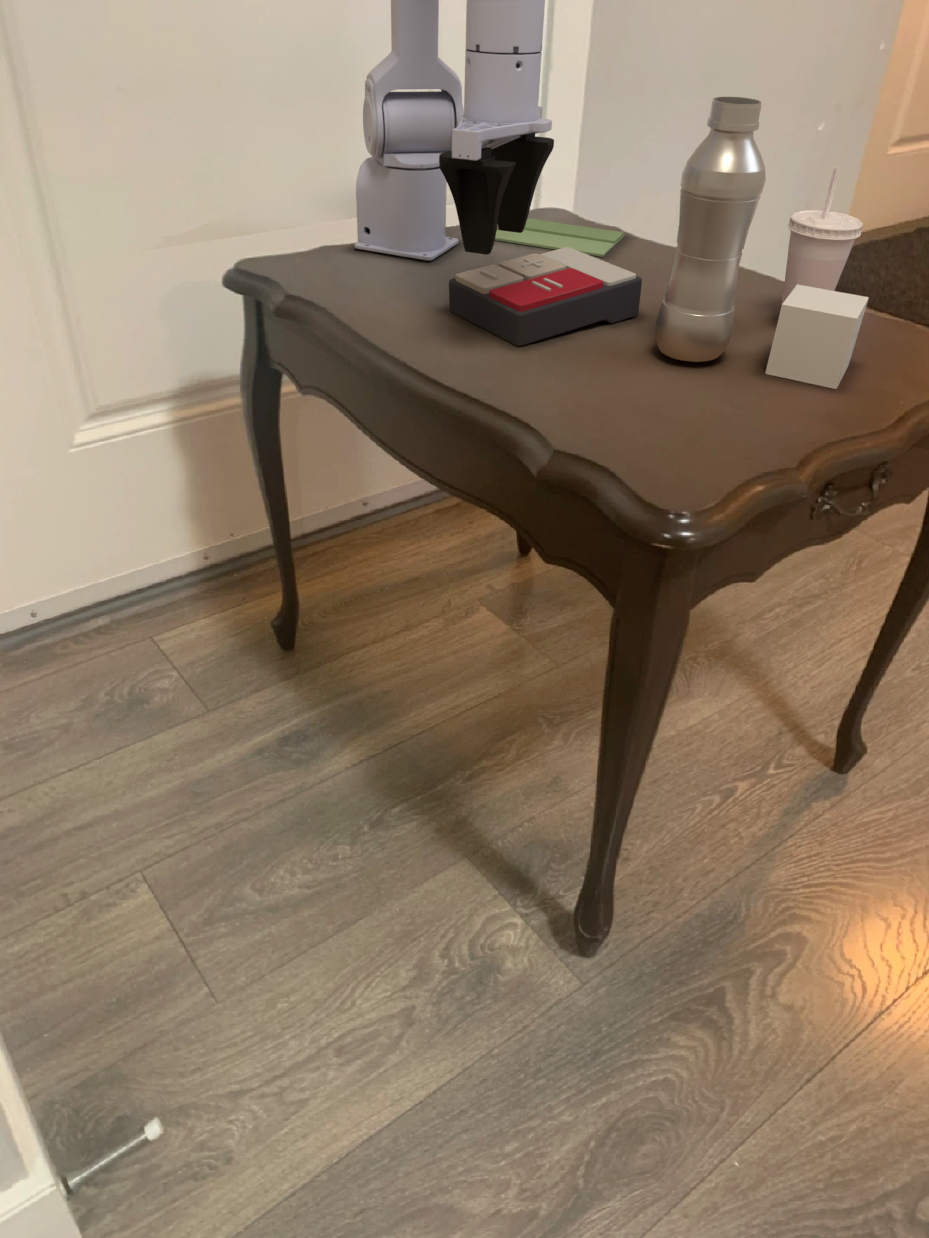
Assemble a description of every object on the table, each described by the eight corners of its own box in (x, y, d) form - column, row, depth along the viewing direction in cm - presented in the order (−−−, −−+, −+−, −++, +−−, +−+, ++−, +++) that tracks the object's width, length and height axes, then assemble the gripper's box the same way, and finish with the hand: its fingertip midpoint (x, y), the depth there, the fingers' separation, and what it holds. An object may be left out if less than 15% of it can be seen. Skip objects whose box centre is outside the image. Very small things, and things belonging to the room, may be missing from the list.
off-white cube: (764, 374, 80) (781, 304, 76) (780, 351, 84) (796, 284, 80) (837, 389, 78) (857, 318, 74) (849, 365, 82) (869, 297, 78)
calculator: (446, 271, 87) (568, 240, 94) (447, 316, 90) (565, 282, 97) (519, 306, 80) (645, 270, 87) (518, 354, 83) (640, 315, 90)
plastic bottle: (636, 347, 83) (675, 95, 71) (699, 339, 86) (747, 92, 74) (676, 375, 79) (725, 110, 67) (742, 365, 81) (800, 106, 69)
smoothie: (753, 324, 89) (789, 165, 81) (785, 308, 93) (822, 155, 85) (815, 342, 86) (859, 179, 77) (845, 325, 90) (891, 168, 81)
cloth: (487, 239, 109) (487, 234, 108) (514, 221, 115) (514, 215, 115) (602, 257, 105) (603, 251, 104) (623, 237, 111) (624, 232, 111)
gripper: (520, 63, 63) (509, 270, 71) (583, 47, 74) (567, 227, 82) (425, 56, 65) (425, 257, 73) (500, 41, 76) (492, 218, 84)
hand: (495, 241), depth 78 cm, fingers open, 7 cm apart
